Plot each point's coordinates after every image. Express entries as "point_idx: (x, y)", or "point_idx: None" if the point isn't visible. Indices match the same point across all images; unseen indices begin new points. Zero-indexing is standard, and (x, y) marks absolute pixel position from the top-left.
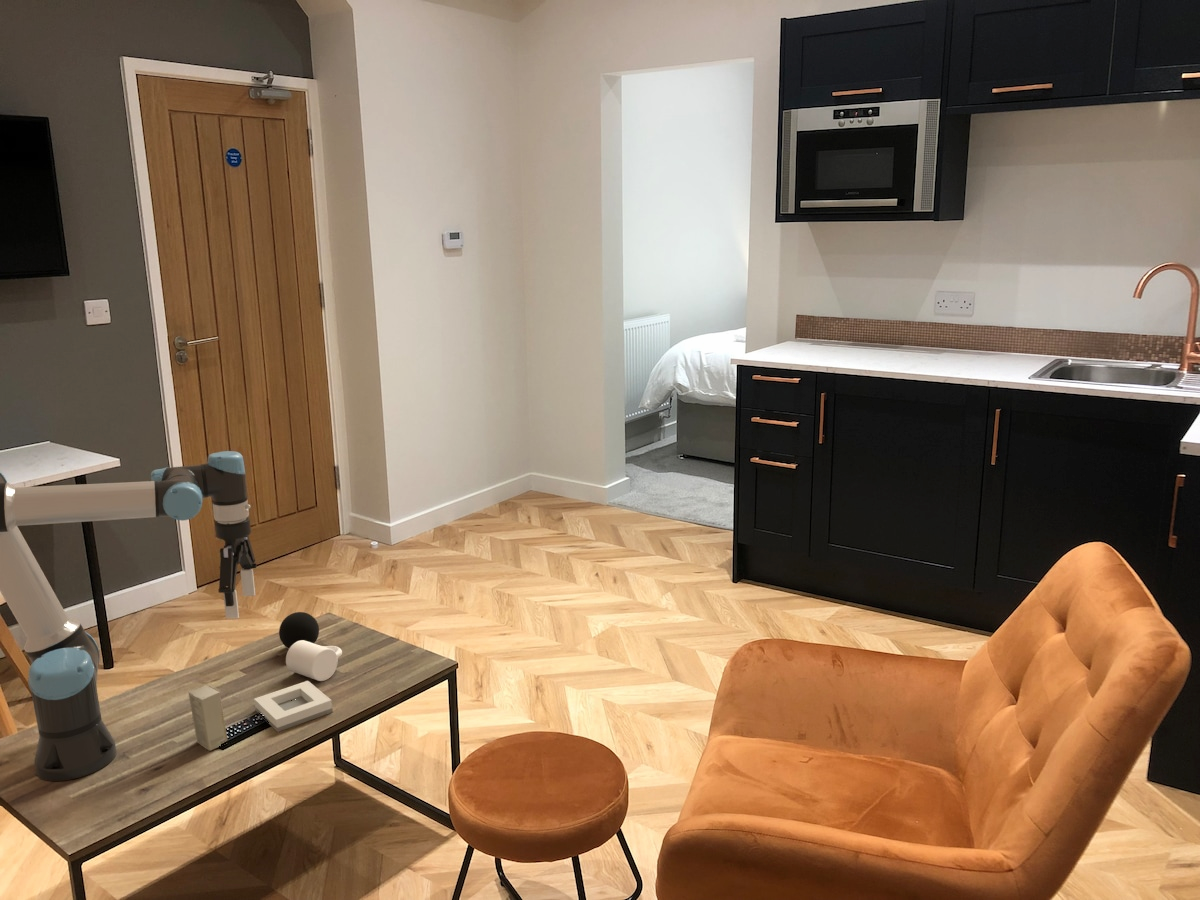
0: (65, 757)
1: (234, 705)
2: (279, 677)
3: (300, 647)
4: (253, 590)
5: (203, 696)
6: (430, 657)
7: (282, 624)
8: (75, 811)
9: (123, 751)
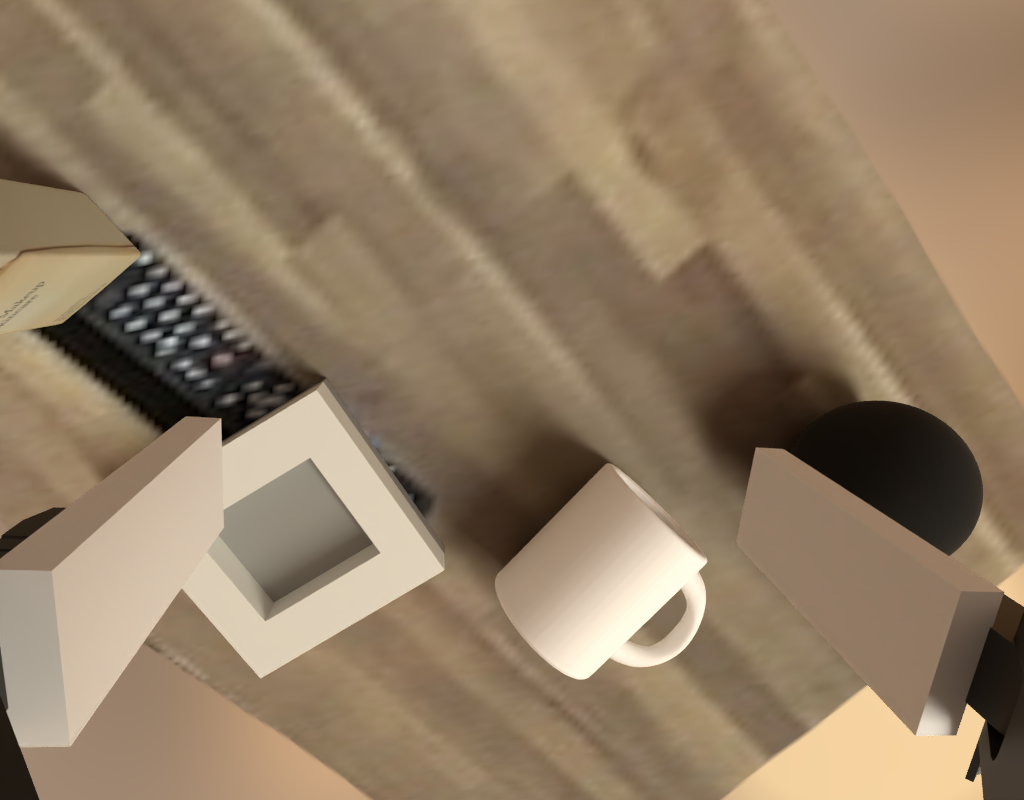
0: None
1: (385, 284)
2: (595, 418)
3: (617, 563)
4: (762, 566)
5: None
6: None
7: (897, 442)
8: None
9: None
